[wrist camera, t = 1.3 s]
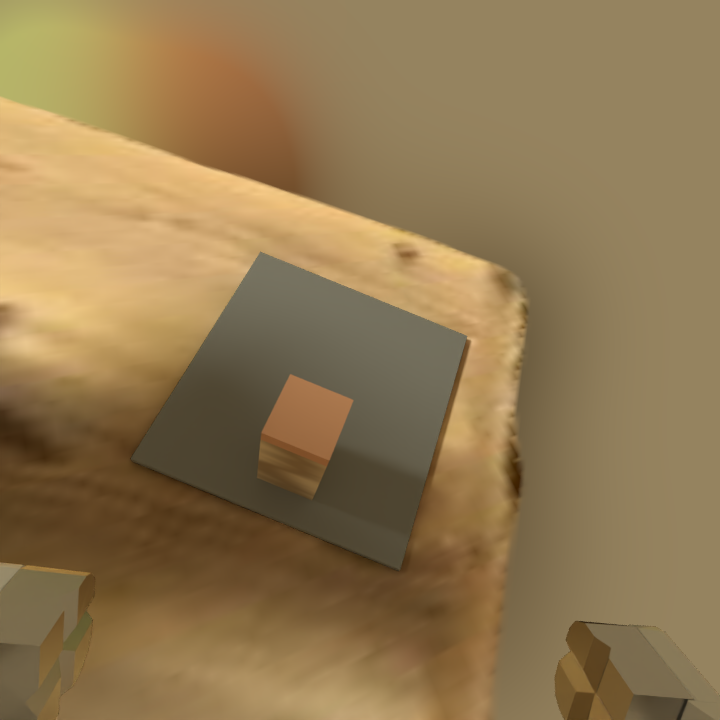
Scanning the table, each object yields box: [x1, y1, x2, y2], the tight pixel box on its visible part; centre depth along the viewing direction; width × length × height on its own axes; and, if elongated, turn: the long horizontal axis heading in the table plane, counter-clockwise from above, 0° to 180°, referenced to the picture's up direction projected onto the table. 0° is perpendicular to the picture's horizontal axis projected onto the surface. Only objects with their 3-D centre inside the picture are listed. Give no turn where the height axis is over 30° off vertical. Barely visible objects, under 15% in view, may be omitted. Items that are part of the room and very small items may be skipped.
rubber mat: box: [131, 252, 467, 571], centre depth 40 cm, size 19×20×1 cm
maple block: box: [257, 374, 354, 500], centre depth 33 cm, size 4×4×8 cm
